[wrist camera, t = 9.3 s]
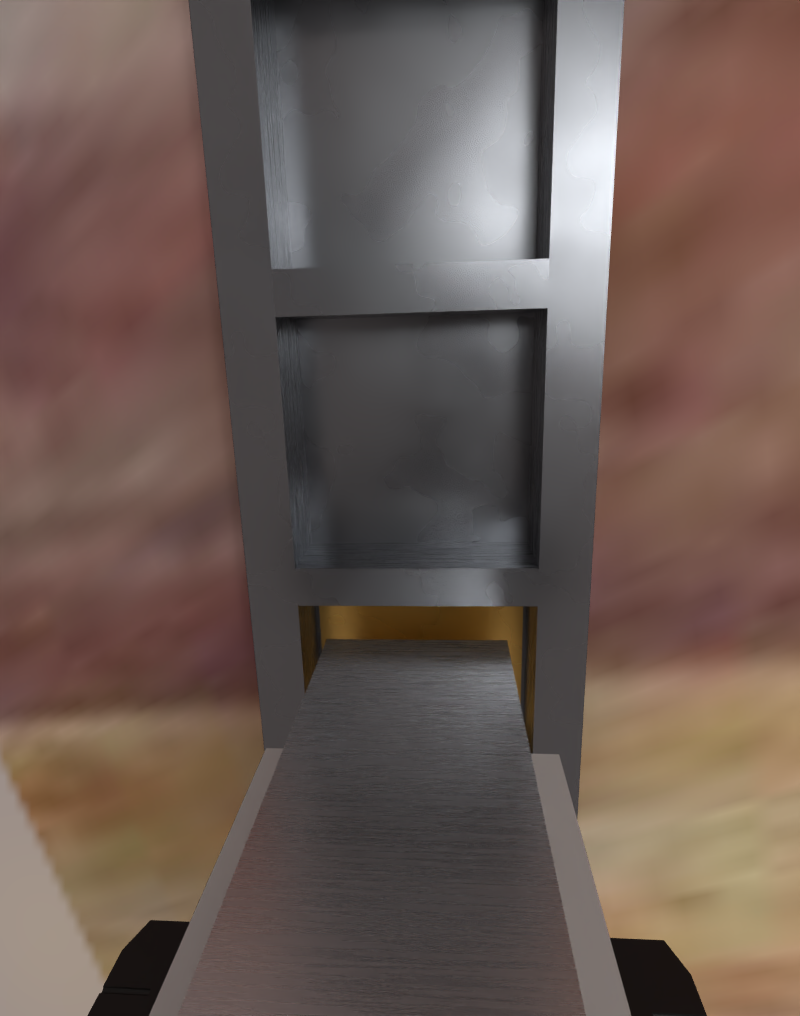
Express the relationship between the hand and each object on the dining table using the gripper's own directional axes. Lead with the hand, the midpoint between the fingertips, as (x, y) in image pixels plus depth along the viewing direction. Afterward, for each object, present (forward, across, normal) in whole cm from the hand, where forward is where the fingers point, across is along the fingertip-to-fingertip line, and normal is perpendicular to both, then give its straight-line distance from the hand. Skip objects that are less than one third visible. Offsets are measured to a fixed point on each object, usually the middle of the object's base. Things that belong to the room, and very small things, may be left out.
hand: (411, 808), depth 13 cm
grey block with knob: (+3, 0, 0) cm, 3 cm away
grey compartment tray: (+6, 0, +7) cm, 9 cm away
